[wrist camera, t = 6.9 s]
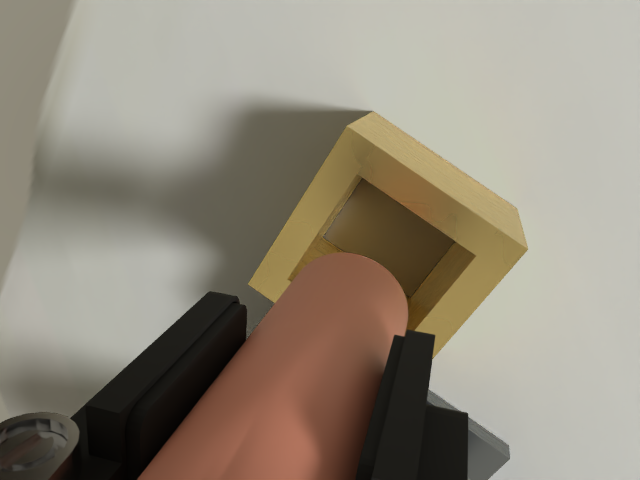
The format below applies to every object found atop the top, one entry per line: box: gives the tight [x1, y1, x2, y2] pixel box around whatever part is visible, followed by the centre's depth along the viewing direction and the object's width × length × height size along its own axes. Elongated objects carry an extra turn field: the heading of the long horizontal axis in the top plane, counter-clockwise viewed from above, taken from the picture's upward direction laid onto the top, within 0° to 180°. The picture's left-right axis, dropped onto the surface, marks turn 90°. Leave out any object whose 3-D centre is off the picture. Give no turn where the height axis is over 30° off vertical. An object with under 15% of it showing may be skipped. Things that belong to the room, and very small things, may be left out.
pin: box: [137, 252, 408, 480], centre depth 9 cm, size 3×3×10 cm
